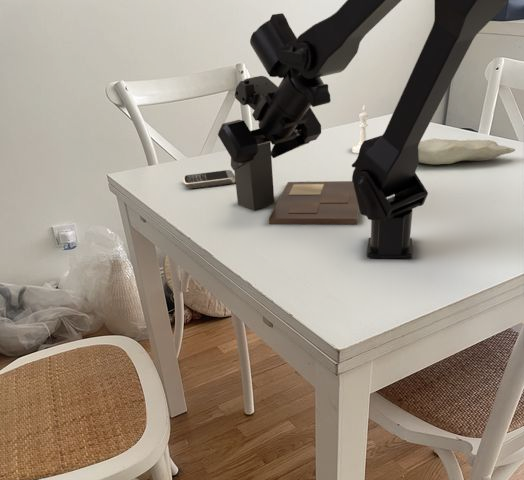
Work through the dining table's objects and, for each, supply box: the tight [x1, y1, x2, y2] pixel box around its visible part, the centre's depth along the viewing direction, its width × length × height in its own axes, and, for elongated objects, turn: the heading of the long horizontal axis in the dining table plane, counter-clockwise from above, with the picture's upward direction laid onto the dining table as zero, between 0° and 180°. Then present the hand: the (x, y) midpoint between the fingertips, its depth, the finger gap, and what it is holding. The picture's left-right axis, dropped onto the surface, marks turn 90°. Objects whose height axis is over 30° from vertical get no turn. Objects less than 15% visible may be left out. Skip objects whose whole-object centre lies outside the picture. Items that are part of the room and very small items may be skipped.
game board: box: [268, 180, 360, 225], centre depth 99 cm, size 20×15×1 cm
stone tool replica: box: [418, 138, 516, 166], centre depth 113 cm, size 15×5×25 cm
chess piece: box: [351, 104, 369, 154], centre depth 124 cm, size 5×5×10 cm
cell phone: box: [182, 169, 236, 190], centre depth 115 cm, size 6×11×1 cm, turn 99°
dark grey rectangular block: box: [233, 142, 275, 211], centre depth 99 cm, size 5×5×12 cm
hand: (253, 161), depth 98 cm, fingers open, 9 cm apart
